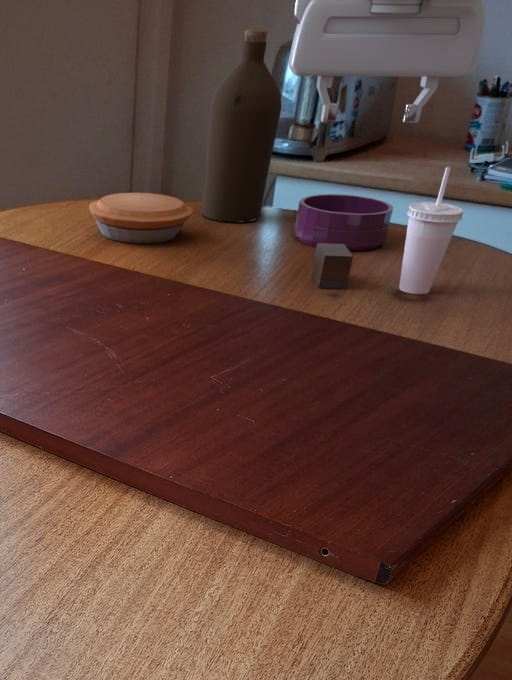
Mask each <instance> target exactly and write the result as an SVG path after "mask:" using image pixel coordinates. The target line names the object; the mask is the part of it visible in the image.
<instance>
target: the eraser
mask: <svg viewBox="0 0 512 680" xmlns="http://www.w3.org/2000/svg"><path fill="white" fill-rule="evenodd" d="M314 253H315V254H314V258H313V265H312V269H311V274H310V276H311V277H312V279H313V281H314V282H315V284H316V286H317V288H318V289H331V290H332V289H333V290H334V289H336V290H346V289H347V286H348V281H349V277H350V273H351V269H352V264H353V259H354V255H353V254H352V252H351V251H349V250H348V249H347V247H346V246H345V244H326V243H318V244H317V247H315V252H314Z"/></svg>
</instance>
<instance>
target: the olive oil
mask: <svg viewBox="0 0 512 680" xmlns="http://www.w3.org/2000/svg"><path fill="white" fill-rule="evenodd" d="M267 36H268V30H266V29H245V32H244V40H243V41H242V47H241V57H240V61H239V62H238V63H237V64H236V65H235V67H234V68H233V69H232V70H231V71H230V72H229V73H228V74H227V75H226V76H225V77H224V79H223V80H222V81H221V82H220V83H218V84H219V85H218V86H217V88H216V89H215V91H214V93H213V96H212V99H211V103H210V107H209V118H208V119H209V120H208V133H207V134H208V135H207V146H206V161H205V162H206V163H205V173H204V183H203V195H202V205H201V215H202V214H203V215H205V216H206V217H209V218H212V219H215V220H214V221H215V222H217V221H216V220H221V221H220V222H222V223H224V222H223V221H231V222H230V223H231V224H232V223H234V224H238V223H240V224H241V223H242V222H238V221H250V220H253V219H257V218H258V217H259V216H260V217H261V213H262V208H263V207H262V206H263V201H264V196H265V192H266V191H265V190H266V185H267V180H268V175H269V171H270V166H271V165H270V164H271V161H272V156H273V151H274V147H275V146H274V145H275V141H276V136H277V131H278V127H279V123H280V119H281V112H282V95H281V90H280V87H279V85H278V83H277V82H276V80H275V79H274V77H273V75H272V73H271V72H270V70H269V69H268V67H267V64H266V63H265V54H266V48H267ZM203 215H202V216H203ZM206 217H204V219H205V218H206ZM260 217H259V218H260ZM259 218H258V219H259ZM206 219H207V218H206ZM212 219H210V220H211V221H213V220H212ZM258 219H257V220H258ZM254 221H256V220H254ZM254 221H253V222H254ZM250 222H252V221H250ZM250 222H249V223H250Z"/></svg>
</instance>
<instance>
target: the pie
mask: <svg viewBox="0 0 512 680" xmlns="http://www.w3.org/2000/svg"><path fill="white" fill-rule="evenodd" d="M88 209H89V212H90V214H91V216H92V217H93V218H94V220H95V223H96V225H97V227H98V229H99V231H100V233H101V234H102V236H104V237H105V238H107V239H110V240H112V241H116V242H119V243H128V244H139V245H140V244H141V245H142V244H146V245H147V244H161V243H165V242H169V241H171V240H173V239H175V238H176V236H177V235H178V233H179V232H180V230H181V229H182V227H183V226H184V224H185V223H186V222H187V221H188V219H189V218H190V217H191V216H192V215H193V214H194V209H193V207H192V206H189V205H187V204H184V202H183V201H182V200H180V199H179V198H177V197H174V196H171V195H167V194H166V195H165V194H160V193H153V192H120V193H113V194H108V195H105V196H102V197H101V198H99V199H98V200H95V201H92V202H91V203H90V204H89V205H88Z"/></svg>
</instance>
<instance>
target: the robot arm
mask: <svg viewBox="0 0 512 680" xmlns="http://www.w3.org/2000/svg"><path fill="white" fill-rule="evenodd" d="M294 18H295V21H296V22H297V24H296V27H295V31H294V35H293V39H292V44H291V48H290V51H289V59H288V67H289V69H290V71H291V73H293V75H295V76H297V77H317V80H316V85H315V86H316V89H317V92H318V95H319V98H320V101H321V104H322V108H321V114H320V122H321V123H336V120H337V115H336V114H337V113H338V110H339V104H337V103H335V102H333V103H332V102H331V99H330V95H329V93H328V89H330V88H331V89H332V87H333V82H334V77H385V78H387V77H398V78H399V77H400V78H421V80H420V87H421V88H423V89H422V90H421V92H420V93H419V95H418V96H417V97H416V99H415V100H414V102H413V103H406V104H405V107H404V114H403V116H402V123H405V124H419V123H420V119H421V114H422V110H423V107H424V106H425V105H426V104H427V103H428V101H429V100H430V98H432V96H433V95H434V94H435V92H436V91H437V89H438V86H439V82H440V78H466V77H468V76H469V75H470V74H471V73H472V72H473V71H474V70H475V68H476V67H477V65H478V61H479V58H480V55H481V54H480V53H481V48H482V43H483V38H484V33H485V24H486V6H485V4H484V2H483V0H295V7H294Z"/></svg>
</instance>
